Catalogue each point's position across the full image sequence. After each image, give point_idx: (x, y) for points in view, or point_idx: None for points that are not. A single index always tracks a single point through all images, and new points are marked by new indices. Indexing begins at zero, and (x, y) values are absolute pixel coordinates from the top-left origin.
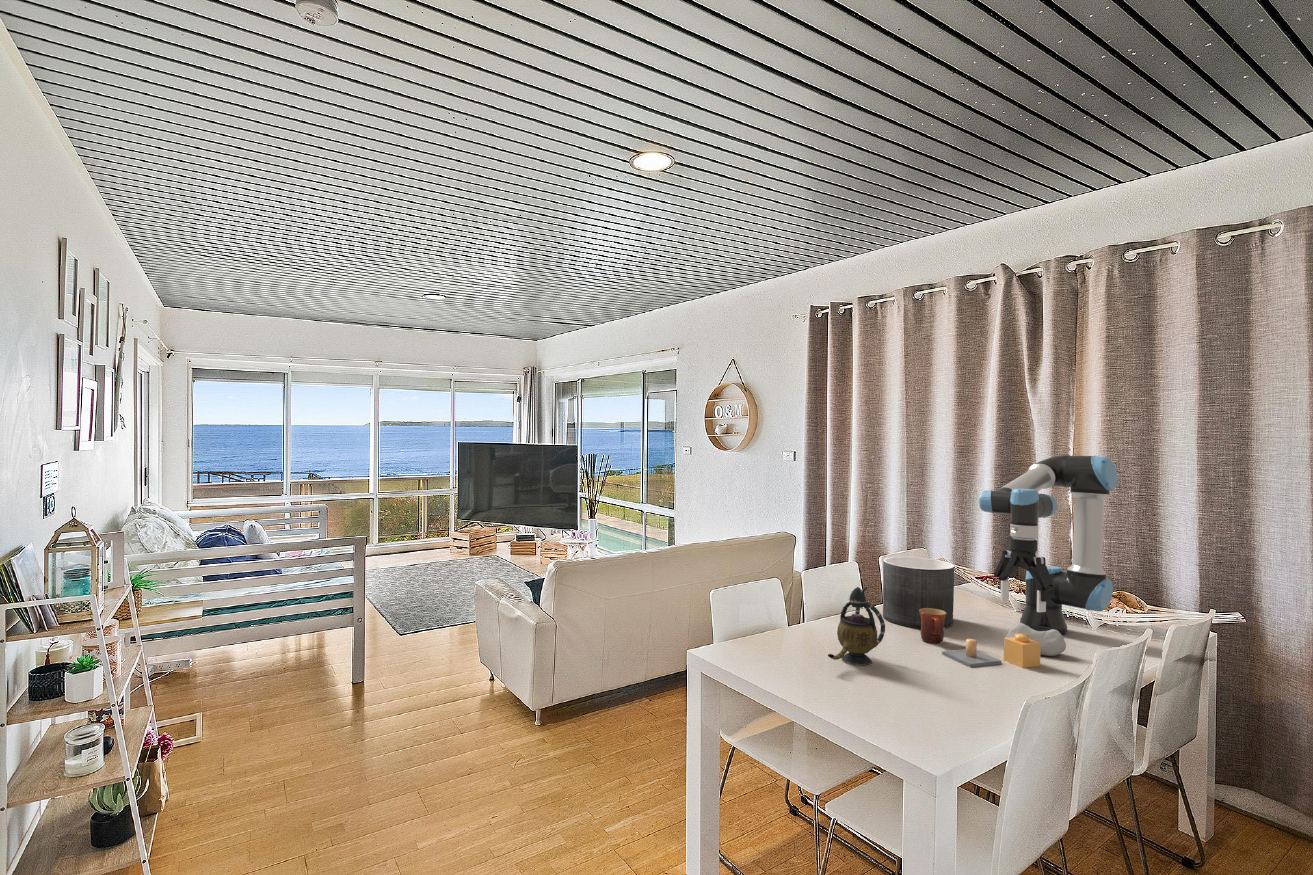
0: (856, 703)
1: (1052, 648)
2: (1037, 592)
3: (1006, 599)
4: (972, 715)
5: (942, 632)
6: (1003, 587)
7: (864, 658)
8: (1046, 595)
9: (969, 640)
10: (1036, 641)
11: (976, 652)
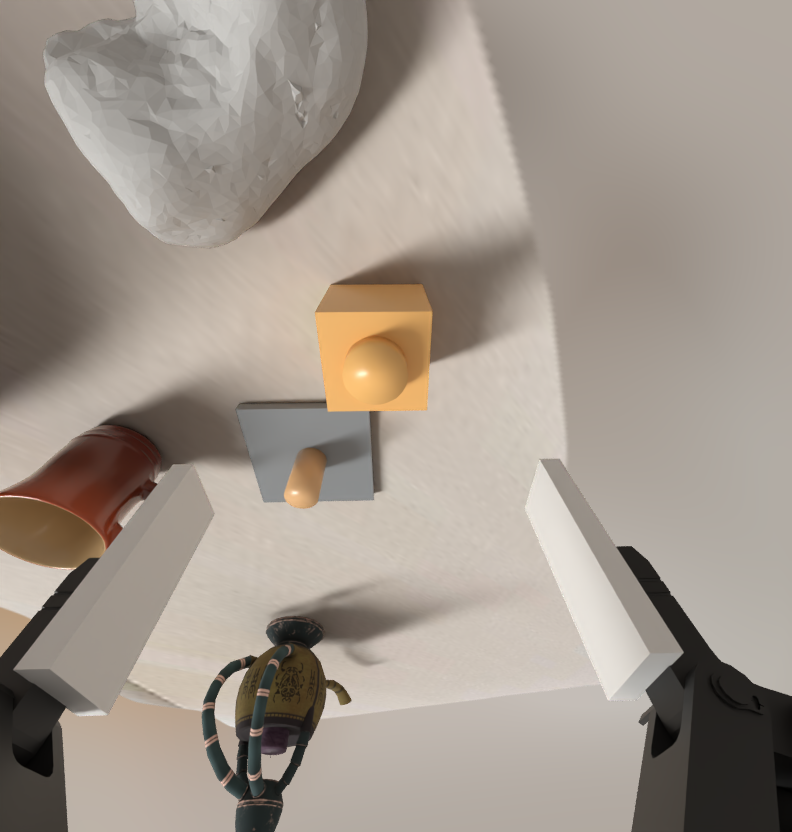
0: (457, 675)
1: (351, 100)
2: (599, 669)
3: (195, 491)
4: (562, 608)
5: (134, 466)
6: (148, 620)
7: (312, 640)
8: (673, 619)
9: (304, 503)
10: (284, 160)
11: (319, 460)
